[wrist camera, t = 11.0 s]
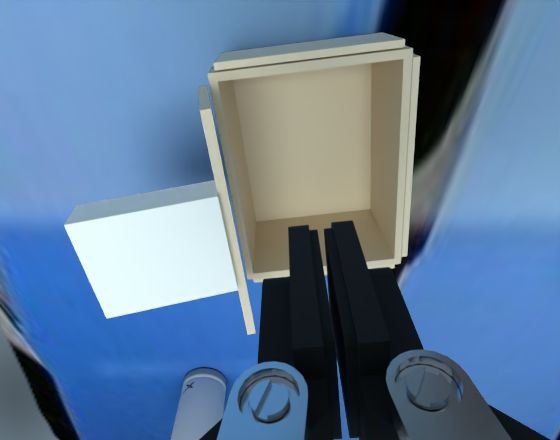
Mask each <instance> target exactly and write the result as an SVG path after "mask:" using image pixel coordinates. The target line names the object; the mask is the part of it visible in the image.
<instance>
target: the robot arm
mask: <svg viewBox="0 0 560 440" xmlns="http://www.w3.org/2000/svg"><path fill="white" fill-rule="evenodd" d="M288 239H289V270H290V276H288V277H278V278H267V279H264V280H263V285H262V302H261V318H260V334H259V351H258V364H257V365H255V366H252V367H251V368H249V369H248V370H246V371H245V372H243V373H242V374H241V375H240V377H239V378H238V379H237V380H236V381H235V383H234V385H233V387H232V389H231V392H230V395H229V398H228V402H227V405H226V409H225V412H224V416H223V418H222V419H221V420H220V421H219V422H218V423H216V424H215V425H214V426H213V427H212V428H211V429H210V430H209V431H208V432H207V433H206V434H205V435H203V436H202V437H201V438H200V439H199V440H333V439H342V432H341V418H340V404H339V390H338V375H337V361H336V353H337V360H338V366H339V373H340V379H341V386H342V392H343V399H344V405H345V412H346V418H347V425H348V431H349V436H350V438H359V440H550V439H548V438H546V437H544V436H543V435H541V434H539V433H537V432H536V431H534V430H532V429H530V428H529V427H527V426H525V425H523V424H522V423H520V422H518V421H516V420H515V419H513V418H511V417H509V416H508V415H506V414H504V413H502V412H501V411H499V410H497V409H495V408H494V407H492V406H490V405H488V404H487V403H486V401H485V400H484V398H483V397H482V395H481V394H480V392H479V391H478V389H477V388H476V386H475V385H474V383H473V382H472V380H471V379H470V377H469V376H468V374H467V373H466V372H465V371H464V370H463V369H462V368H461V366H460V365H459V364H458V363H456V362H455V361H453V360H452V359H450V358H449V357H447V356H445V355H442V354H440V353H437V352H435V351H429V350H424V349H423V346H422V344H421V341H420V339H419V336H418V334H417V331H416V329H415V326H414V324H413V321H412V319H411V316H410V314H409V311H408V309H407V306H406V304H405V301H404V299H403V296H402V294H401V291H400V289H399V286H398V284H397V281H396V279H395V276H394V274H393V272H392V270H391V268H390V267H383V268H372V269H368V267H367V264H366V260H365V257H364V254H363V251H362V248H361V245H360V242H359V238H358V235H357V232H356V229H355V226H354V223H353V220H349V221H340V222H331V228H325V229H324V239H325V253H326V266H327V279H328V292H329V301H328V294H327V288H326V281H325V275H324V269H323V262H322V256H321V249H320V243H319V236H318V230H317V229H316V230H309V225H301V226H292V227H288ZM329 305H330V307H329ZM335 347H336V349H335Z"/></svg>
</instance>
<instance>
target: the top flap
mask: <svg viewBox="0 0 560 440" xmlns="http://www.w3.org/2000/svg"><path fill="white" fill-rule="evenodd" d="M198 94H199V109H200V115H201V119H202V124H203V128H204V133H205V138H206V142H207V147H208V152H209V156H210V161H211V166H212V170H213V175H214V180H212V181H206V182H201V183H195V184H190V185H184V186H179V187H173V188H168V189H162V190H157V191H151V192H146V193H140V194H135V195H129V196H124V197H118V198H113V199H107V200H102V201H96V202H91V203H85V204H80V205H76V206H75V207H74V209H73V211H72V212H71V214H70V216H69V218H68V219H67V221H66V223H65V224H64V226H65V229H66V231H67V233H68V235H69V237H70V239H71V242H72V244H73V246H74V248H75V250H76V253H77V255H78V257H79V259H80V261H81V263H82V266H83V268H84V270H85V272H86V274H87V277H88V279H89V281H90V283H91V285H92V287H93V290H94V292H95V294H96V296H97V298H98V301H99V303H100V305H101V307H102V309H103V311H104V314H105V316H106V318H112V317H116V316H121V315H125V314H130V313H135V312H139V311H144V310H149V309H153V308H158V307H162V306H167V305H172V304H176V303H181V302H185V301H190V300H195V299H199V298H204V297H209V296H213V295H218V294H222V293H227V292H232V291H236V290H238V291H239V296H240V301H241V305H242V310H243V315H244V319H245V324H246V329H247V333H248V335H249V334H254V333H256V332H255V326H254V321H253V316H252V311H251V306H250V301H249V296H248V290H247V285H246V280H245V275H244V270H243V265H242V260H241V255H240V250H239V245H238V240H237V235H236V230H235V225H234V220H233V215H232V210H231V205H230V200H229V195H228V190H227V185H226V180H225V175H224V170H223V165H222V160H221V155H220V150H219V145H218V139H217V134H216V129H215V124H214V119H213V114H212V109H211V104H210V99H209V94H208V89H207V85H206V86H200V87H198ZM237 287H238V288H237Z"/></svg>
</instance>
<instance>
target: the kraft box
mask: <svg viewBox="0 0 560 440" xmlns="http://www.w3.org/2000/svg"><path fill="white" fill-rule="evenodd" d="M213 64H214V66H213V67H212V69H211V70H210V71H209V72H208V73H207V74H208V79H209V84H210V89H211V95H212V100H213V105H214V110H215V115H216V120H217V125H218V130H219V136H220V141H221V146H222V151H223V156H224V161H225V166H226V171H227V176H228V182H229V187H230V192H231V197H232V202H233V207H234V212H235V217H236V223H237V228H238V233H239V238H240V243H241V248H242V253H243V258H244V264H245V269H246V274H247V279H253V280H254V283H255V282H263V280H264V279H267V278H278V277H288V276H290V270H289V239H288V227H292V226H301V225H309V230H316V229H317V230H318V236H319V243H320V249H321V256H322V262H323V269H324V275H327V266H326V253H325V239H324V229H325V228H331V222H340V221H349V220H353V223H354V226H355V229H356V232H357V235H358V238H359V242H360V245H361V248H362V251H363V254H364V257H365V260H366V264H367V267H368V269H372V268H383V267H390V268H394V265H395V264H401V257H403V256H407V250H408V235H409V220H410V205H411V190H412V175H413V160H414V145H415V129H416V114H417V99H418V84H419V69H420V56H418V55H415V54H413V48H411V47H408V46H405V39H403V38H399V37H396V36H393V35H389V34H386V33H383V32H381V33H373V34H365V35H357V36H349V37H341V38H333V39H325V40H317V41H309V42H301V43H293V44H285V45H277V46H269V47H261V48H253V49H245V50H237V51H229V52H222V53H221V55H220V56H219V57H218V58H217V59H216V60H215V62H214V63H213Z"/></svg>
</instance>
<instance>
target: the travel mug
mask: <svg viewBox="0 0 560 440" xmlns="http://www.w3.org/2000/svg"><path fill="white" fill-rule="evenodd" d="M225 392H226V379H225V377H224V376H223V375H222V374H221V373H220V372H218V371H216V370H214V369H210V368H199V369H195V370H192V371H191V372H189V373H188V374H187V375H186V376H185V379H184V383H183V388H182V392H181V396H180V401H179V405H178V410H177V414H176V418H175V423H174V427H173V432H172V436H171V440H199V439H200V438H201V437H202V436H203V435H205V434H206V433H207V432H208V431H209V430H210V429H211V428H212V427H213V426H214V425H215V424H216V423H218V422H219V421H220V420H221V419H222V418H223V410H224V401H225Z"/></svg>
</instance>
